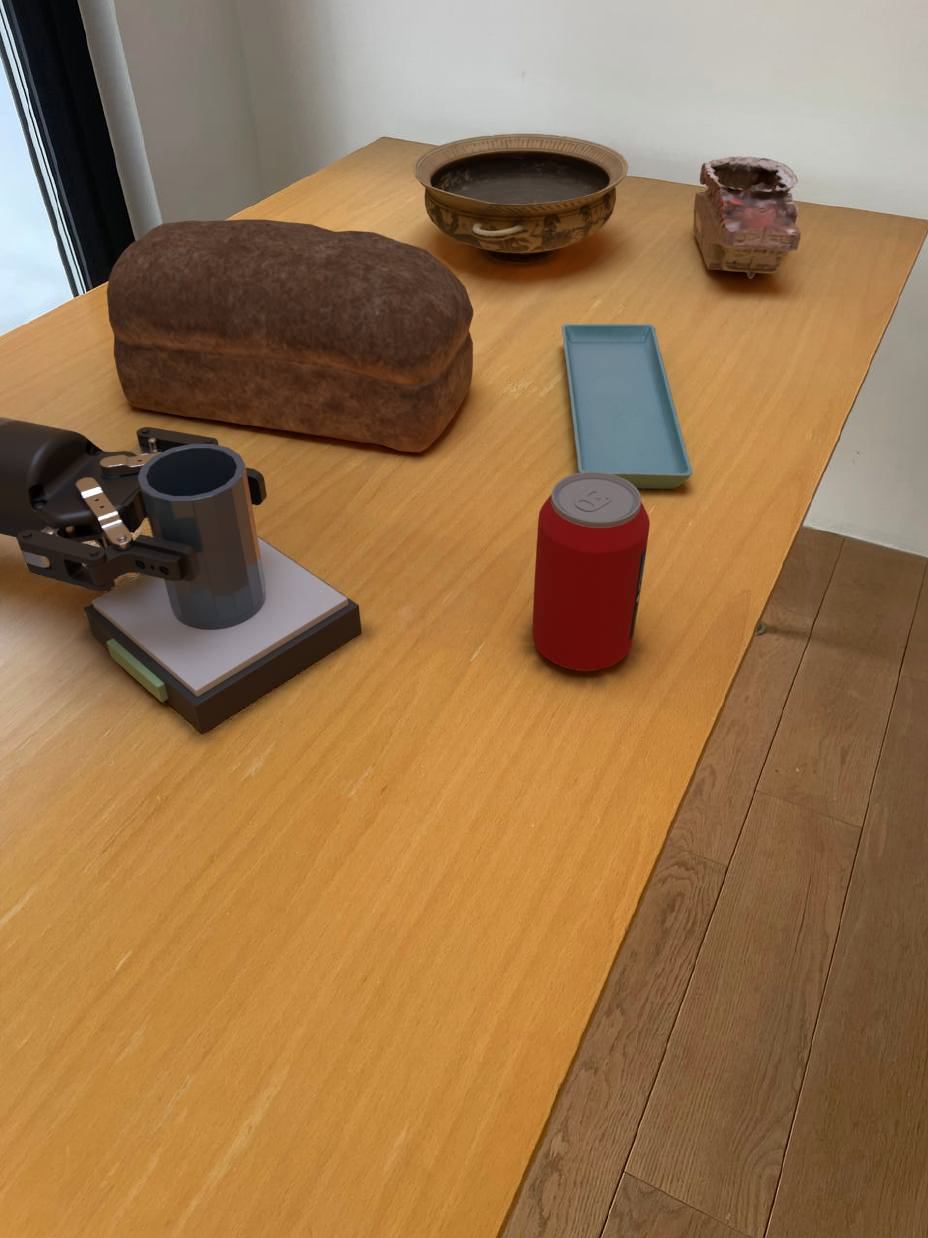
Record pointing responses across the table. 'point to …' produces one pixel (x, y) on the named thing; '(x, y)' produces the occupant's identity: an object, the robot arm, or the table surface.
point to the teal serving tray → (623, 405)
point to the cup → (207, 532)
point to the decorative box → (746, 214)
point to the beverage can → (589, 570)
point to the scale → (223, 640)
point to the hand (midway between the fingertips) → (230, 525)
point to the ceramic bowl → (520, 192)
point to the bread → (292, 330)
